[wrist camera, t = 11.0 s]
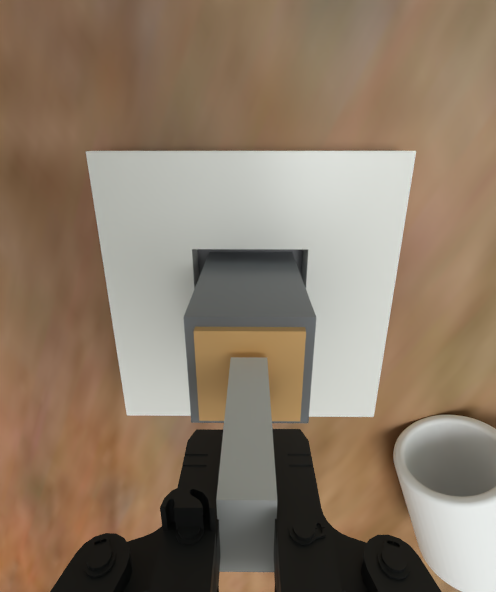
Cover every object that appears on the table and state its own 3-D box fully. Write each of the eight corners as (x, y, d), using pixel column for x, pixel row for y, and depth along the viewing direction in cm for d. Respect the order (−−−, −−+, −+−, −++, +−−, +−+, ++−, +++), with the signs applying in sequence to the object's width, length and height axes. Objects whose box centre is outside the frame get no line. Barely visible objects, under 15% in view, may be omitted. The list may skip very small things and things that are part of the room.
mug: (402, 508, 34) (444, 609, 27) (378, 428, 31) (418, 519, 23) (539, 476, 32) (623, 574, 25) (529, 387, 29) (625, 470, 21)
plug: (209, 251, 25) (181, 321, 15) (292, 252, 25) (317, 321, 15) (212, 325, 27) (189, 428, 17) (288, 326, 27) (309, 429, 17)
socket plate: (102, 150, 23) (81, 151, 20) (399, 150, 22) (420, 151, 19) (136, 393, 29) (124, 421, 26) (363, 395, 29) (376, 422, 26)
